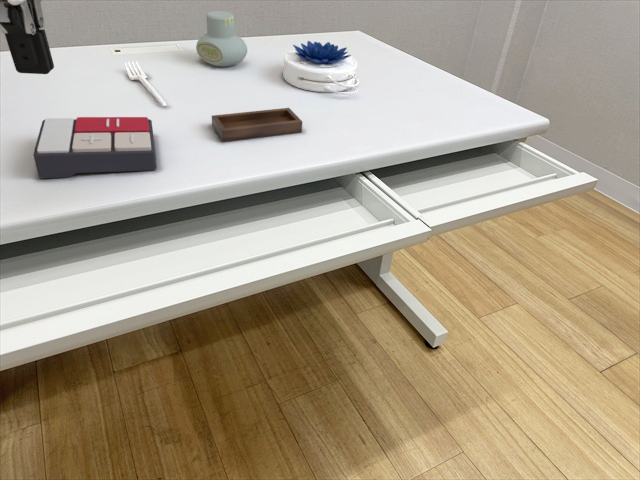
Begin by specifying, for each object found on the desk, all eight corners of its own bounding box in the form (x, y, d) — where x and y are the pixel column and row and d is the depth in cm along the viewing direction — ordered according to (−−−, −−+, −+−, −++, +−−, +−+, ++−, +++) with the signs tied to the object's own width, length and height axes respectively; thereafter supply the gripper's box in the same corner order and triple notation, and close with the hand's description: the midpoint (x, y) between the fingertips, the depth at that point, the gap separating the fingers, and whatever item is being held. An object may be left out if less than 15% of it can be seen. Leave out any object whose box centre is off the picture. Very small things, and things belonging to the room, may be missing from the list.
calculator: (155, 147, 65) (31, 149, 60) (157, 174, 68) (38, 179, 63) (151, 114, 73) (41, 114, 68) (153, 139, 76) (47, 141, 71)
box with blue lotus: (271, 37, 100) (320, 69, 87) (333, 33, 107) (386, 61, 94) (270, 70, 104) (316, 105, 91) (330, 64, 111) (381, 95, 98)
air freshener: (190, 61, 104) (186, 12, 98) (215, 52, 110) (213, 6, 104) (230, 73, 100) (229, 23, 94) (253, 64, 106) (253, 16, 100)
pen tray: (222, 142, 76) (221, 130, 75) (212, 126, 80) (211, 115, 79) (301, 132, 81) (302, 121, 80) (288, 118, 85) (289, 107, 84)
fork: (156, 109, 83) (154, 99, 82) (123, 71, 96) (122, 62, 95) (174, 106, 85) (173, 96, 84) (140, 69, 97) (138, 60, 96)
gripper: (-35, -159, 44) (25, 47, 55) (-143, -167, 32) (-38, 96, 43) (52, -150, 45) (93, 51, 56) (-23, -155, 33) (49, 100, 44)
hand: (36, 70), depth 50 cm, fingers closed
